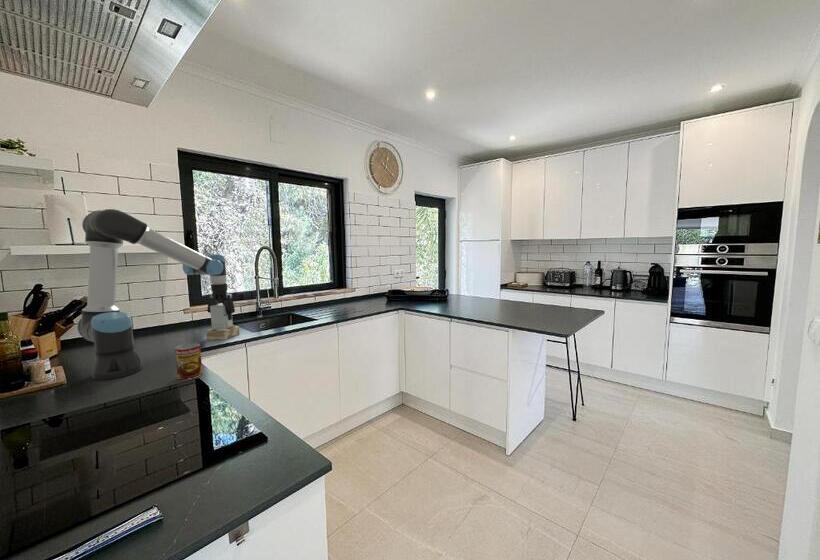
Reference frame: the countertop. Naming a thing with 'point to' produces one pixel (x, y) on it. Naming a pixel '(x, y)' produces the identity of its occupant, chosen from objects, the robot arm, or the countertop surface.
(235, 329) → the display pedestal
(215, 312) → the supplement box
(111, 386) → the countertop surface
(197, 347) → the canned food
